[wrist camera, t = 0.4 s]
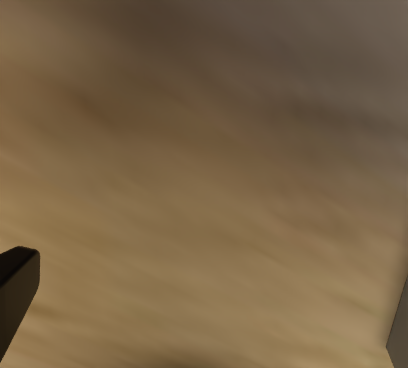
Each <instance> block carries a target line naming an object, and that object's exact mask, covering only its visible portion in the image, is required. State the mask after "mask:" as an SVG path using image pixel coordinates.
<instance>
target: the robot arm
mask: <svg viewBox="0 0 408 368" xmlns="http://www.w3.org/2000/svg"><path fill="white" fill-rule="evenodd" d="M39 281H40V253H39V251H37V250H36V249H31V248H27V247H23V246H17V247H14V248H12V249H10V250H8V251H6V252H3V253H1V254H0V362H1V360H2V359H3V357H4V355H5V353H6V351H7V349H8V347H9V345H10V343H11V341H12V339H13V337H14V335H15V333H16V331H17V329H18V327H19V325H20V323H21V321H22V320H23V318H24V316H25V314H26V312H27V310H28V308H29V306H30V304H31V302H32V300H33V298H34V296H35V294H36V292H37V289H38V286H39Z"/></svg>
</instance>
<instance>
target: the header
mask: <svg viewBox="0 0 408 368" xmlns="http://www.w3.org/2000/svg"><path fill="white" fill-rule="evenodd" d="M386 348H387V351H388V353H389V356H390V358H391V361H392V363H393V366H394V368H408V277H407V280H406V283H405V287H404V290H403V293H402V296H401V300H400V303H399V306H398V310H397V313H396V316H395V319H394V323H393V326H392V329H391V333H390V336H389V339H388V343H387V346H386Z"/></svg>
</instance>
